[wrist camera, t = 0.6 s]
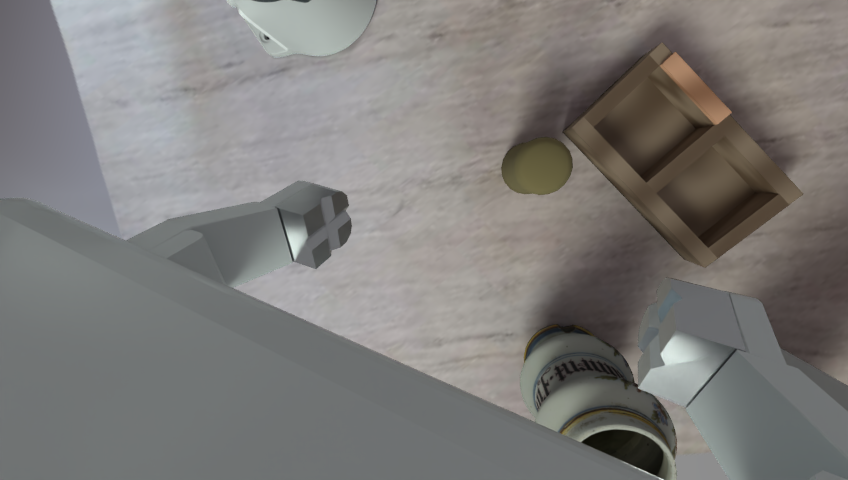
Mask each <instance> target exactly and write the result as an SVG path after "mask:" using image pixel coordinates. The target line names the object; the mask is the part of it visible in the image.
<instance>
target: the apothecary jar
mask: <svg viewBox="0 0 848 480" xmlns="http://www.w3.org/2000/svg"><path fill="white" fill-rule="evenodd" d="M520 388H521V393H522V397H523V400H524V402H525V404H526V406H527V408H528V410H529V411H530V413H531V414H532V415H533V416H534V417H535V418H536V419H535V422H536V423H538V424H540V425H543V426H545V427H547V428H549V429H552V430H554V431H556V432H558V433H561V434H563V435H565V436H567V437H570V438H572V439H574V440H576V441H579V442H581V443H583V444H585V445H588V446H590V447H592V448H594V449H597V450H599V451H601V452H603V453H606V454H608V455H610V456H612V457H615V458H617V459H619V460H621V461H624V462H626V463H628V464H630V465H633V466H635V467H637V468H639V469H642V470H644V471H646V472H648V473H651V474H653V475H655V476H657V477H660V478H662V479H664V480H676V477H677V470H676V464H675V461H674V460H675V457H676V451H677V439H676V433H675V429H674V426H673V423H672V420H671V418H670V416H669V414H668V413H667V411H666V410H665V408H664V407H663V405H662V404H661V403H660V402H659V401H658V400H657V399H656V398H655V397H654V396H653V395H652V394H651V393H648V392H646V391H643V390H641V389H638V385H637V384H636V383H634V378H633V374H632V371H631V369H630V367H629V365H628V363H627V361H626V360H625V359H624V357H623V356H622V355H621V354H620V353H619V352H618V351H617V350H616V349H615V348H614V347H612V346H611V345H609V344H608V343H606V342H604V341H603V340H601V339H598V338H596V337H595V336H594V335H593V334H592V333H590V332H589V331H587V330H586V329H584V328H582V327H579V326H576V325H572V326H567V327H561V326H559V325H557V324H556V325H552V326H548V327H546V328H544V329H542V330H540V331H539V332H538V333H536V334H535V335H534V336H533V337H532V338H531V340H530V341H529V343H528V345H527V347H526V349H525V354H524V365H523V368H522V371H521V377H520Z"/></svg>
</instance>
